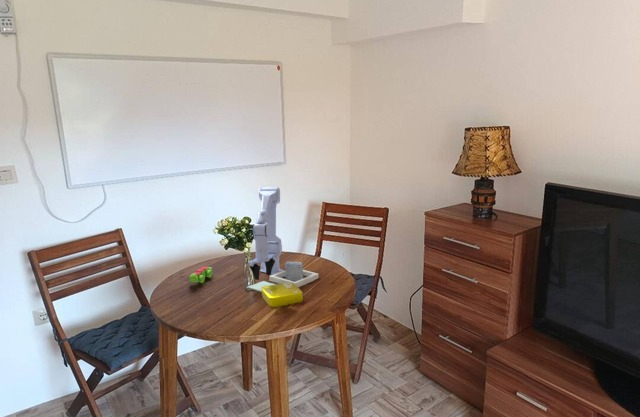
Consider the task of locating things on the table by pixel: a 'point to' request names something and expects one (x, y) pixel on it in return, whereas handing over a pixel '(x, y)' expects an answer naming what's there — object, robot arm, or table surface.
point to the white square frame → (278, 279)
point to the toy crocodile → (201, 274)
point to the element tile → (282, 294)
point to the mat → (260, 285)
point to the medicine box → (294, 271)
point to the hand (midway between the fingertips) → (262, 277)
